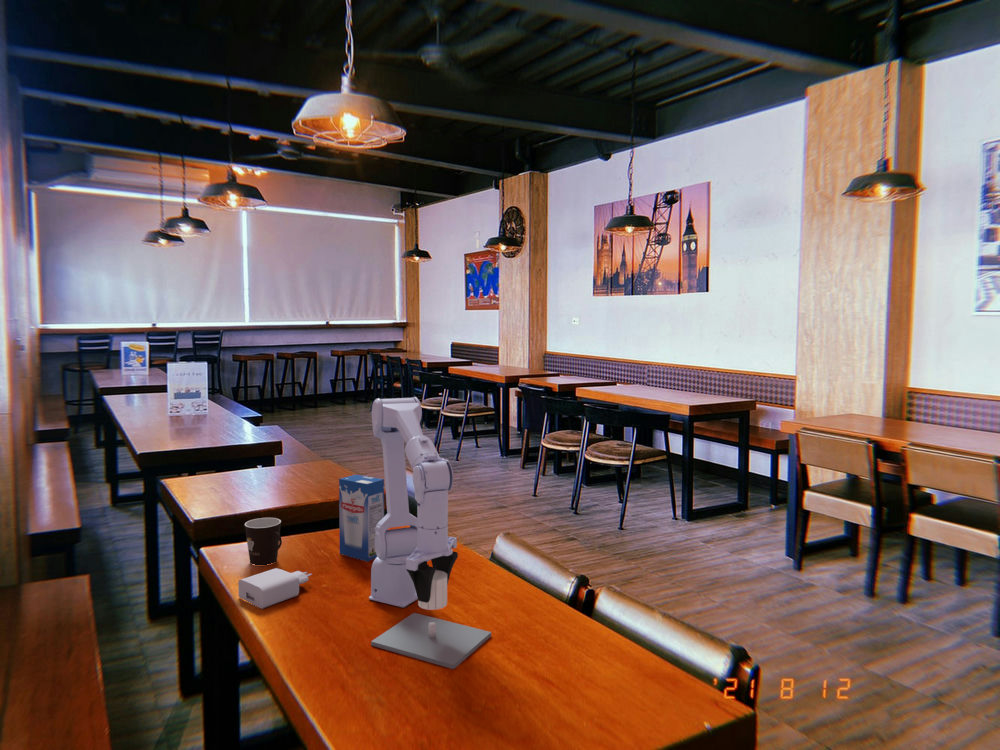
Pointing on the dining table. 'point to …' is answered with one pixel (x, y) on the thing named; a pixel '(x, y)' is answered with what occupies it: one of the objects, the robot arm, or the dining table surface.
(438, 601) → the paper roll
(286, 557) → the dining table surface
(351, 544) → the milk carton
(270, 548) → the coffee mug
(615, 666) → the dining table surface
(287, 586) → the charger
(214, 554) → the dining table surface
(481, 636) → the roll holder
